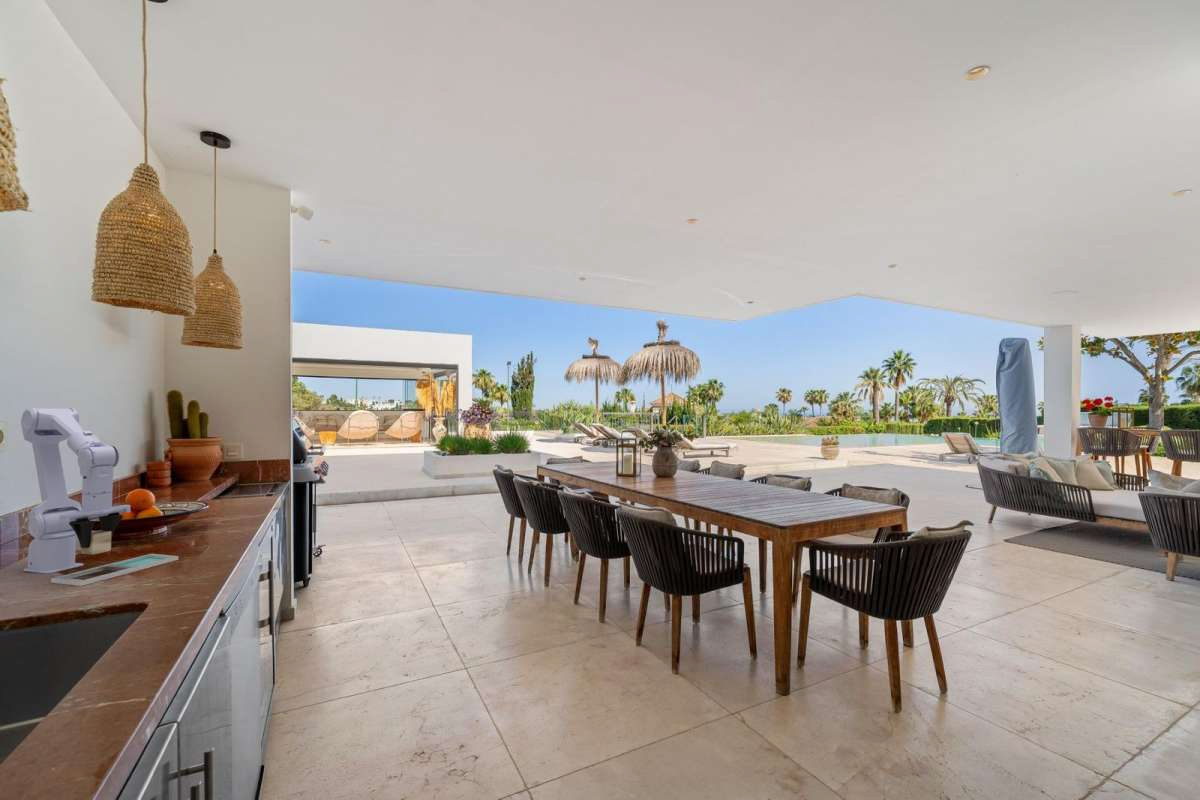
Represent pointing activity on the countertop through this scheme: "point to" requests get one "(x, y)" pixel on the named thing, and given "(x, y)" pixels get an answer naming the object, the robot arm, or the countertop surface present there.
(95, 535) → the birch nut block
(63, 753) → the countertop surface
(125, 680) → the countertop surface
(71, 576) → the rail frame
